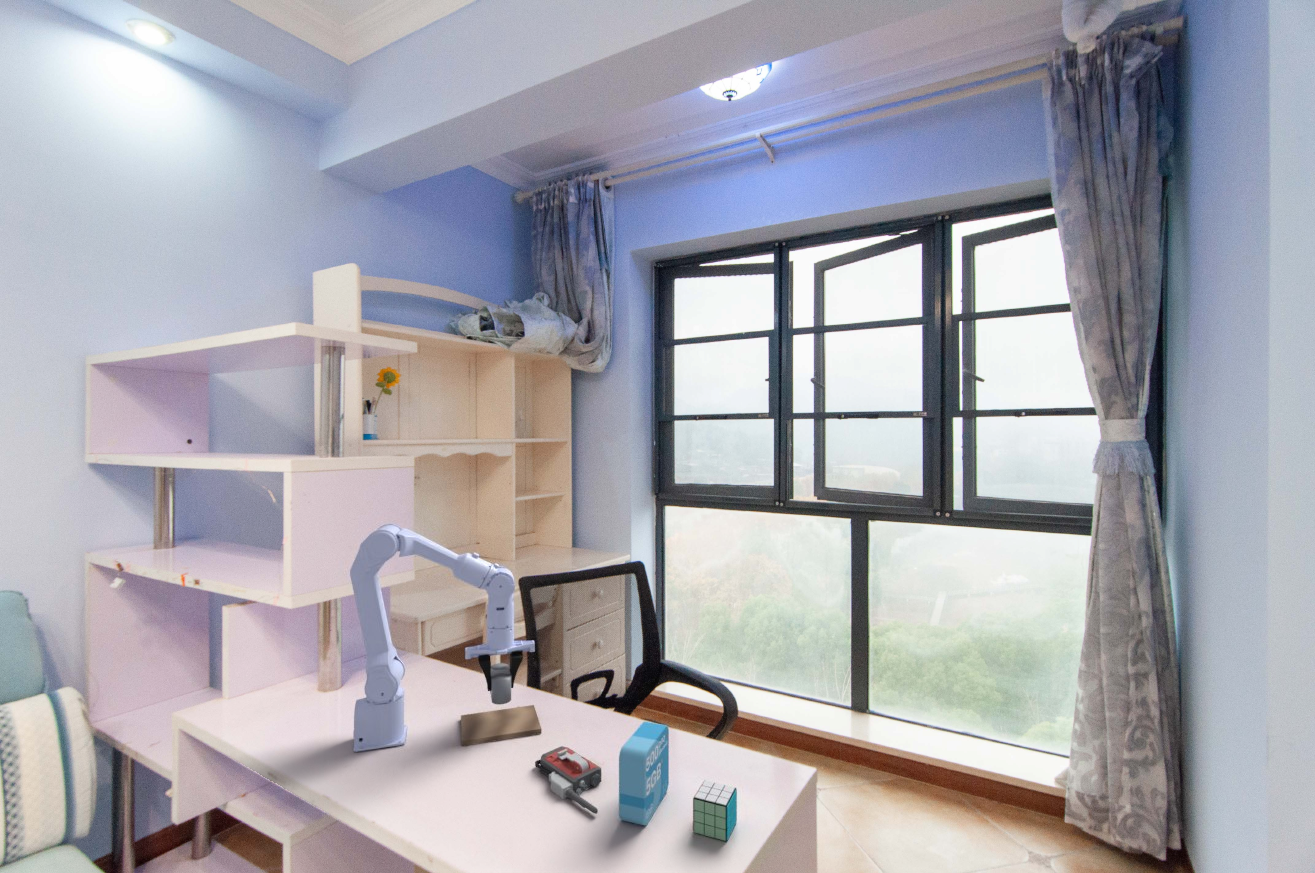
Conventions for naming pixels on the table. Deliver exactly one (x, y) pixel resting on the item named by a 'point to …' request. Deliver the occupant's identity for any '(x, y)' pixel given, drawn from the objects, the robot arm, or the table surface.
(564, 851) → the table surface
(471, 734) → the walnut board
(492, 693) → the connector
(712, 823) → the puzzle toy
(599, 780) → the walkie-talkie
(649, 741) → the data package
